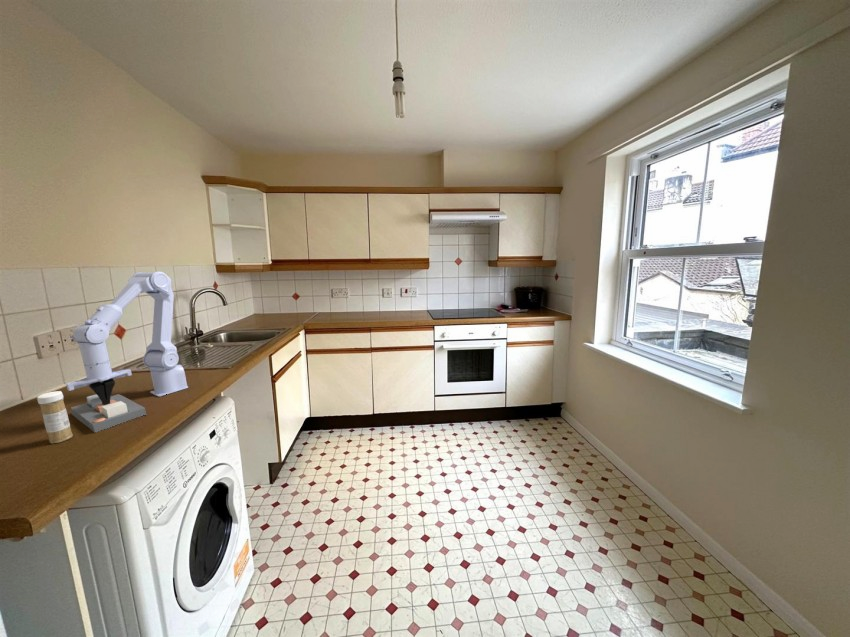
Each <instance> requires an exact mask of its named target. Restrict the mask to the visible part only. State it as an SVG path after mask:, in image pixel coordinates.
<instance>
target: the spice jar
mask: <svg viewBox="0 0 850 637" xmlns="http://www.w3.org/2000/svg"><path fill="white" fill-rule="evenodd" d="M36 400H37V403H38V405H39V406H40V410H41V411H40V412H41V415H42V418H43V424H44V427H45V431H46V432H47V436H48V439H49V440H48V442H49V443H50V444H58V443H62V442H65V441H67V440H70V439H72V438H73V436H74V435H73V432H72V428H71V424H70V420H69V416H68V412H67V408H66V405H65V402H64V394H63V392H62V391H61V390H58V391H57V390H56V391H50V392H46V393H43V394H40V395H38V396H37V397H36Z"/></svg>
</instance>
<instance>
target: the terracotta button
mask: <svg viewBox="0 0 850 637" xmlns="http://www.w3.org/2000/svg"><path fill="white" fill-rule="evenodd" d="M116 402H117V401H115V400H110V404H112V403H116ZM107 405H109V404H107ZM102 406H106V405H103V404H102V403H100V404H96V405H95V409H96V411H97V412H98V413H100V412H103V411H102Z"/></svg>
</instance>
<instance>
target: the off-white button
mask: <svg viewBox="0 0 850 637" xmlns="http://www.w3.org/2000/svg"><path fill="white" fill-rule="evenodd" d="M102 411H103V415H104V417H106V418H110V417H114V416H117V415H120V414H123V413H126V412H128V410H127V406H126V404H125V403H124V402H122V401H119V402H116V403H112V404H109V405H106V406H102Z"/></svg>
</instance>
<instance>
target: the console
mask: <svg viewBox="0 0 850 637" xmlns="http://www.w3.org/2000/svg"><path fill="white" fill-rule="evenodd" d="M110 399H111V400H115V401H117V402H119V401H122V402H124V403H125V404H126V406H127V410H128V412H126V413H123V414H120V415H117V416H114V417H110V418H106V417H104V415H103V412H100V413H98V412H97V411H96V409H95V407H92V408H91V407H90V406H89V405H88V402H85V403H82V404H78V405H75V406H70V410H71V411H70V412H71V415H72V416H73V417H74V418H75V419H77V420H78V421H79V422H80V423H82V424H83V425H85V426H86V427H87V428H89V429H90V430H91V431H92V432H93V433H95V432H96V433H99V432H102V431H105V430H107V428H108V429H110V427H111V428H113V427H112V426H114V427H116V426H115V425H117V424H120V423H122V424H124V423H123V422H125V423H127V422H126V421H128V420H131V419H134V418H136V417H140V416H143V415H146V416H147V411H146V407H144V406H143V405H141V404H138V403H137V402H135V401H133V400H132V399H129V398H127V397H125V396H124V395H121V394H120V393H118V394H115V395H111V397H110ZM143 417H144V416H143ZM140 418H141V417H140ZM134 420H135V419H134ZM131 421H132V420H131ZM128 422H129V421H128ZM120 425H121V424H120ZM117 426H118V425H117ZM104 429H105V430H104ZM101 430H102V431H101Z"/></svg>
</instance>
